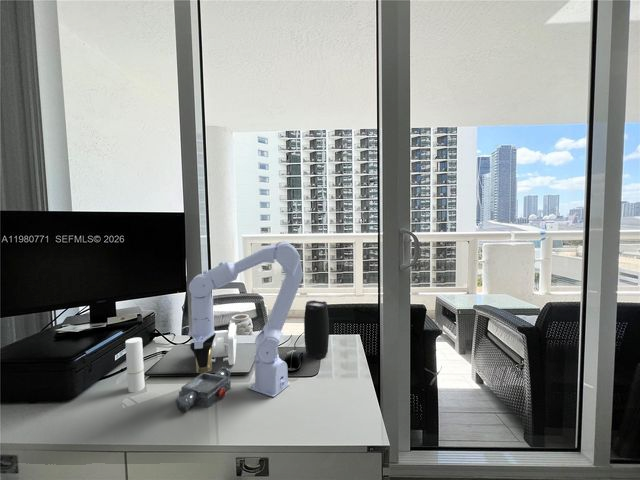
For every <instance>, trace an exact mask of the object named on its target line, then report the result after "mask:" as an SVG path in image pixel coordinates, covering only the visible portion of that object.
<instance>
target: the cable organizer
mask: <svg viewBox="0 0 640 480" xmlns="http://www.w3.org/2000/svg"><path fill="white" fill-rule="evenodd" d="M237 328H238V326H237V324H236V323H235V322H231V323H229V326H228V329H225V330H224V329H223V330H221V329H220V330H214V331H215V333H216V335H215V338H214V340H213V343H212V349H211V358H212V363H216V358H223V362H225V361H227V362H228V365H230V366H233V365H235V363H236V354H237ZM213 358H214V359H213ZM232 364H233V365H232Z"/></svg>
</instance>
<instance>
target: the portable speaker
mask: <svg viewBox="0 0 640 480" xmlns="http://www.w3.org/2000/svg"><path fill="white" fill-rule="evenodd" d="M303 323H304V324H303V327H304V331H303V332H304V334H303V335H304V347H305V353H306V356H307V357H309V356H310V357H314V358H315V359H316V360H322V359H324V358H326V356H327V354H328V353H329V351H328V350H329V337H330V331H329V329H330V328H329V327H330V326H329V324H330V321H329V312H328V303H327V302H326V301H318V300H309V301H306V304H305V310H304V317H303Z"/></svg>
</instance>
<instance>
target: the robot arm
mask: <svg viewBox="0 0 640 480" xmlns="http://www.w3.org/2000/svg"><path fill="white" fill-rule="evenodd" d="M275 260H276V261H277V263H278V264H279V265H280V267H282V270H283V272H284V275H285V276H284V279H283V281H282V284H281V287H280V289H279V290H278V291H279V292H278V294H277V297H276V299H275V301H274V304H273V307H272V309H271V311H270V313H269V316H268V320H267V322H266V323H265V324H264V326H263V327H262V330H261V331H260V332H259V333H258V334H257V335H256V337H255V341H254V342H255V350H256V351H255V355H254V383H253V384H251V385H250V386H248V389H249V390H252V391H254V392H257V393H260V394H263V395H266V396H270V397H272V398H274V397H276V396H277V395H278V394H279V393H281V392H282V391H283V390H285V389H286V388H288V387H289V386H290V382H289V378H288V377H289V376H288V373H289V372H288V364H287V362H286V361H284V360H283V359H281V358H280V355H279V343H280V341H281V334H282V331H283V327H284V326H285V323H286V320H287V317H288V314H289V312H290V311H291V308H292V304H293V303H294V299H295V297H296V295H297V293H298V289H299V288H300V285H301V283H302V280H303V276H304V273H303V267H302V263H301V261H302V260H301V255H300V253H299V252H298V250H297V249H296V247H295V246H294V245H293V244H291V243H289V242H287V241H284V240H283V241H278V242H276V244H271V245H270V244H269V245H268V246H265V247H263V248H261V249H259V250H257V251H255V252H253V253H252V254H249V255H248V256H245V257H243V258H241V259H240V260H238V261H236V262H235V263H233V262H229V261H225V262H224V261H221V262H219V263H218V265H217V266H215V267H214V268H211V269H208V270H207V269H205V270H203V271H202V273H199V274H197V275H195V277H193V279H192V280H191V281H190V283H189V286H188V290H189V293H190V295H191V296H190V298H191V302H190V307H191V308H190V309H191V326H192V327H191V329H192V330H191V331H189V332H188V333H187V336H188V337H191V338H192V339H193V342H191V343H190V344H189V345H190V346H189V347H190V350H191V351H192V352H193V354H194V356H195V361H196V360H197V363H198V366H199V368H202V367H207V364H208V356H209V350H210V347H211V349H212V343H213V340H214V338H215V335H216V333H215V331H216V330H215V329H214V328H215V327H214V326H215V325H214V309H213V308H214V306H213V297H212V290H217V289H220V288H221V287H224V286H226V285H228V284H230V283H232V282H233V281H237V278H238V277H239V274H241V273H242V272H245V271H246V270H249V269H251V268H253V267H256V266H258V265H260V264H263V263H269V264H275Z"/></svg>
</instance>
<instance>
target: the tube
mask: <svg viewBox="0 0 640 480" xmlns="http://www.w3.org/2000/svg"><path fill="white" fill-rule="evenodd" d="M125 357H126V359H125V360H126V373H127V389H128V390H127V391H128V393H138V392H140V391H142V390H144V389H145V387H146V385H145V368H144V365H145V364H144V351H143V338H142V337H131V338H128V339H126V340H125Z"/></svg>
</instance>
